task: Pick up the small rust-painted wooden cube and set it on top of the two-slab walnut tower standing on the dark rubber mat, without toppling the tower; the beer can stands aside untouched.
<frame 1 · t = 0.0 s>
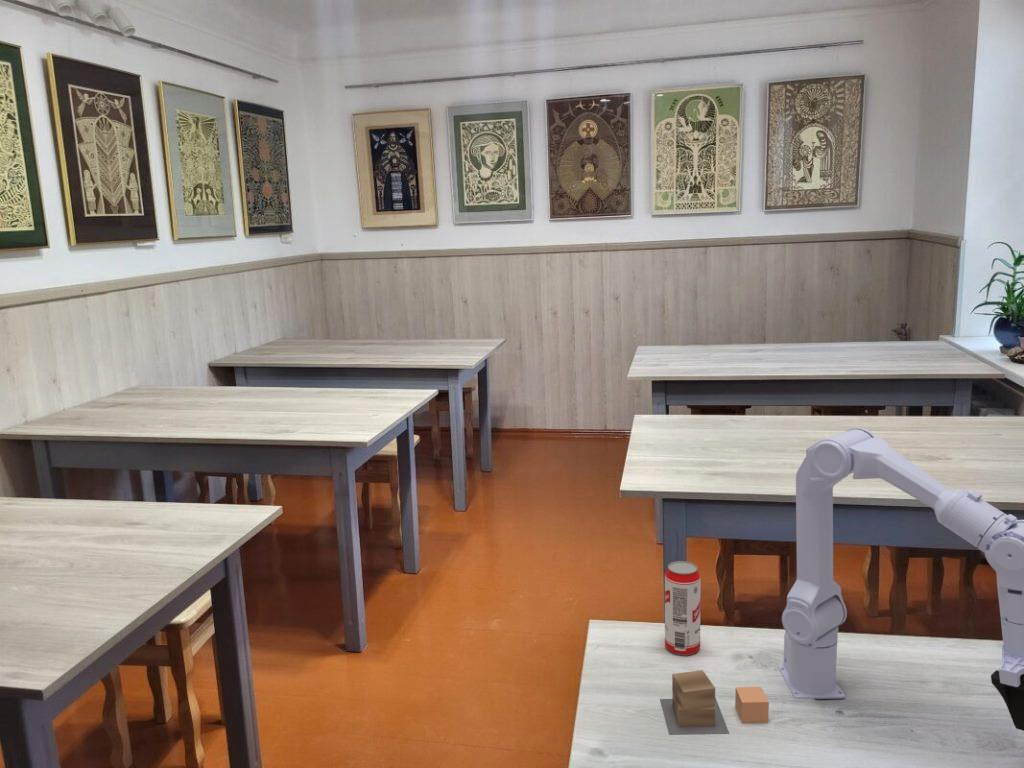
beer can: (682, 650, 141), on the table
slab top: (693, 698, 121), point 3 cm above the table, touching slab bottom
slab bottom: (693, 715, 121), resting on mat, touching slab top
mat: (693, 717, 121), on the table
cube: (751, 717, 121), on the table
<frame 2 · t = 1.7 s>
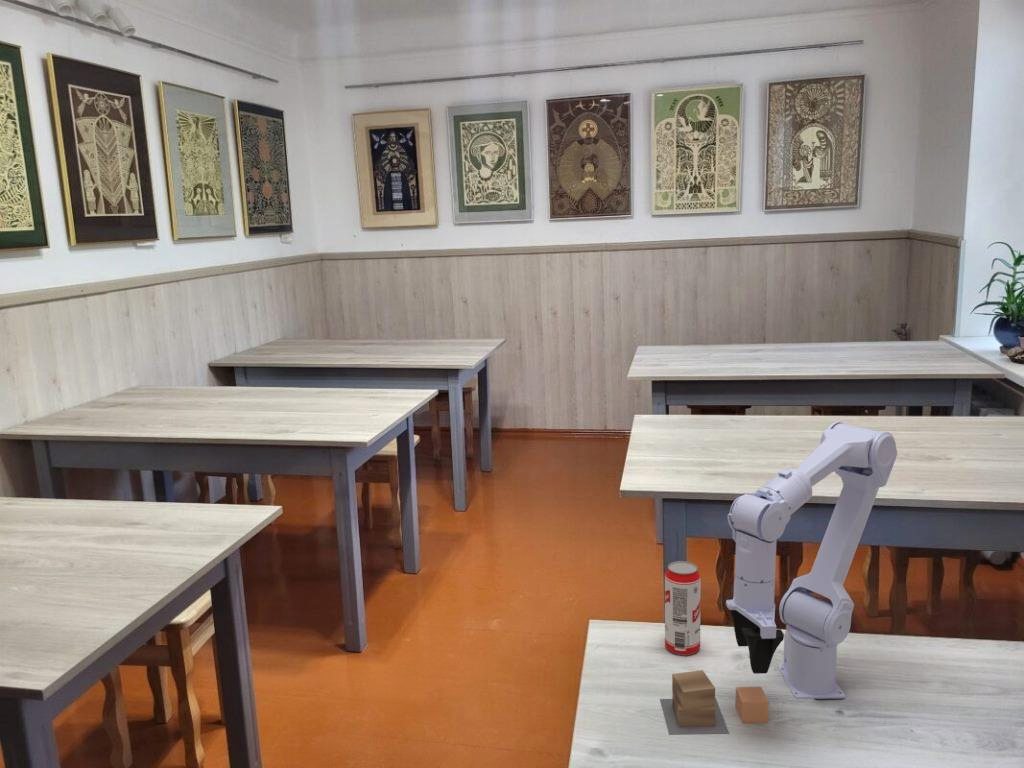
hand: (751, 658, 118), 10 cm above the table, tool pointing down, fingers open, 7 cm apart
nothing on the table moved.
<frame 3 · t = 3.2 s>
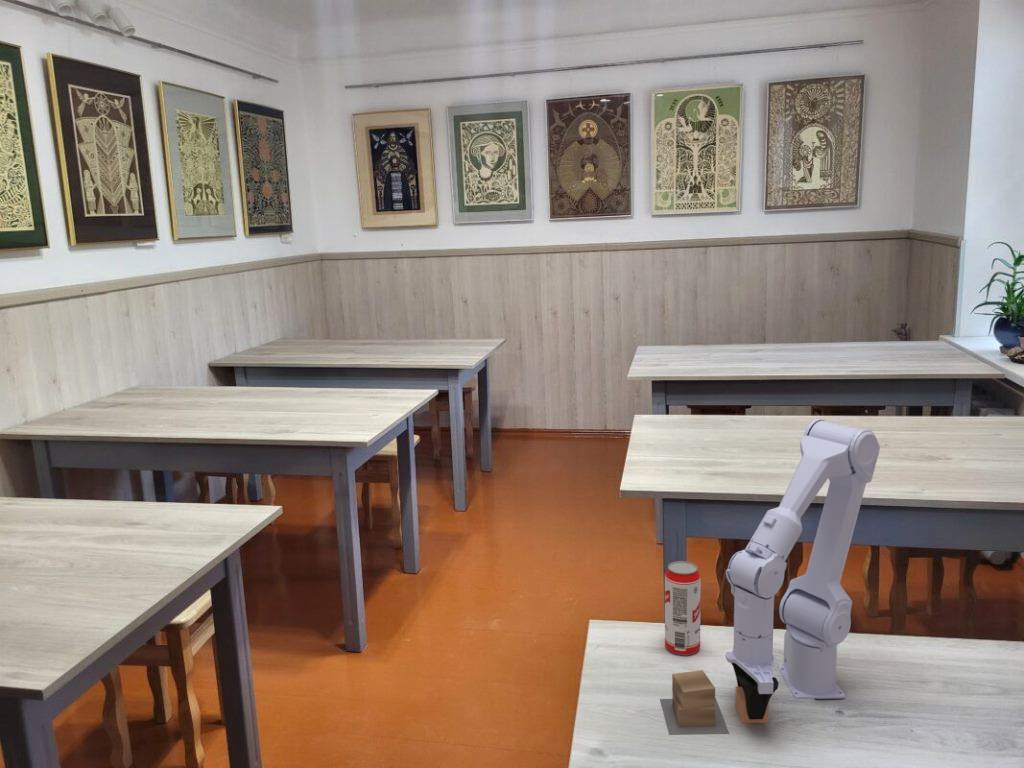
hand: (751, 708, 121), 1 cm above the table, tool pointing down, fingers closed on cube, 4 cm apart
cube: (751, 716, 121), on the table, touching gripper
everything else where it was.
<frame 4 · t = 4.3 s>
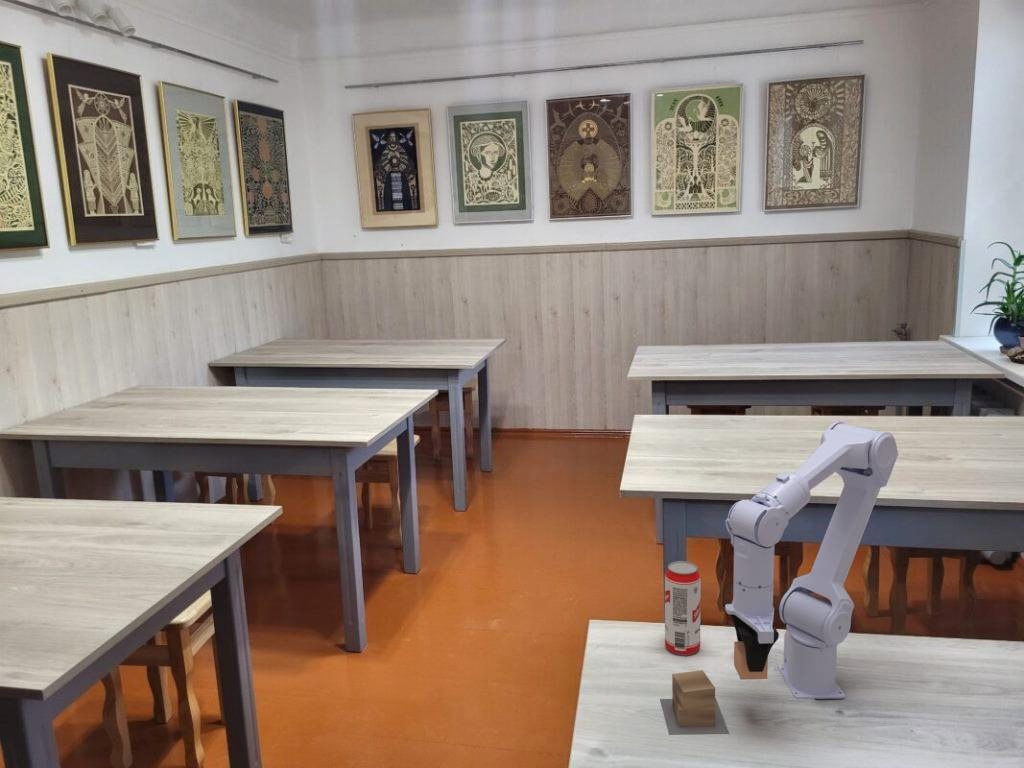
hand: (751, 662, 119), 9 cm above the table, tool pointing down, fingers closed on cube, 4 cm apart
cube: (750, 671, 120), point 8 cm above the table, touching gripper
everything else where it was.
when the fingers open (9 cm above the table, at t = 5.6 s): cube stays where it is, resting on slab top.
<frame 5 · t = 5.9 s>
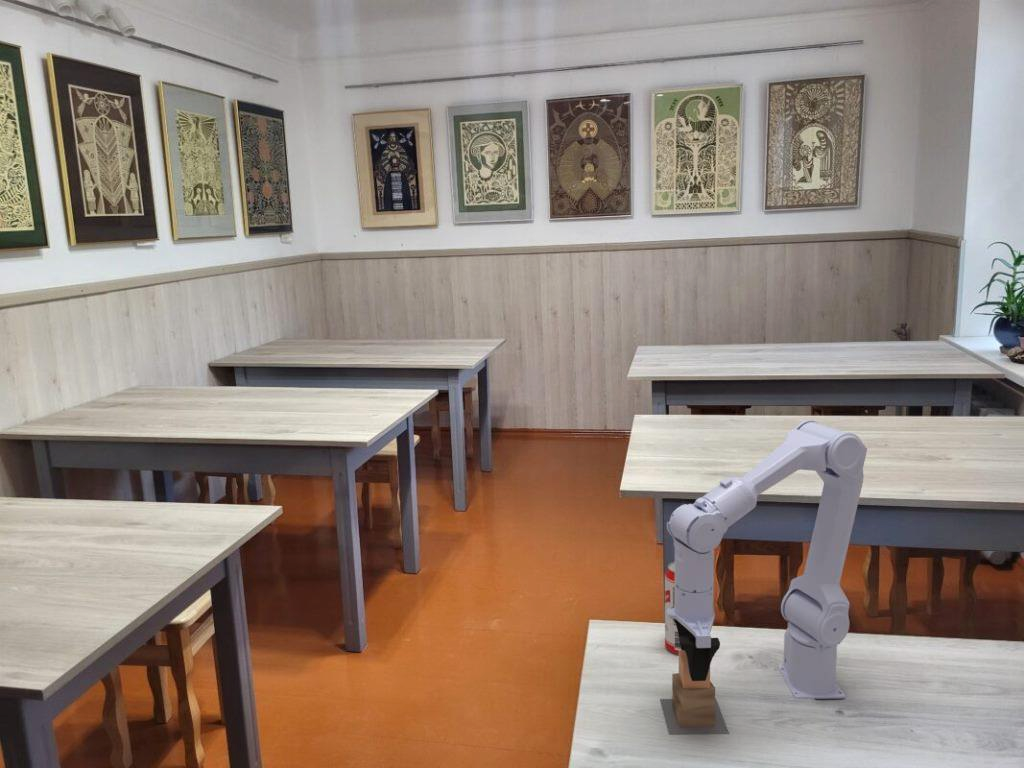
hand: (693, 666, 120), 9 cm above the table, tool pointing down, fingers open, 7 cm apart
slab top: (693, 698, 121), point 3 cm above the table, touching cube, slab bottom
cube: (694, 680, 120), point 6 cm above the table, touching slab top
everything else where it was.
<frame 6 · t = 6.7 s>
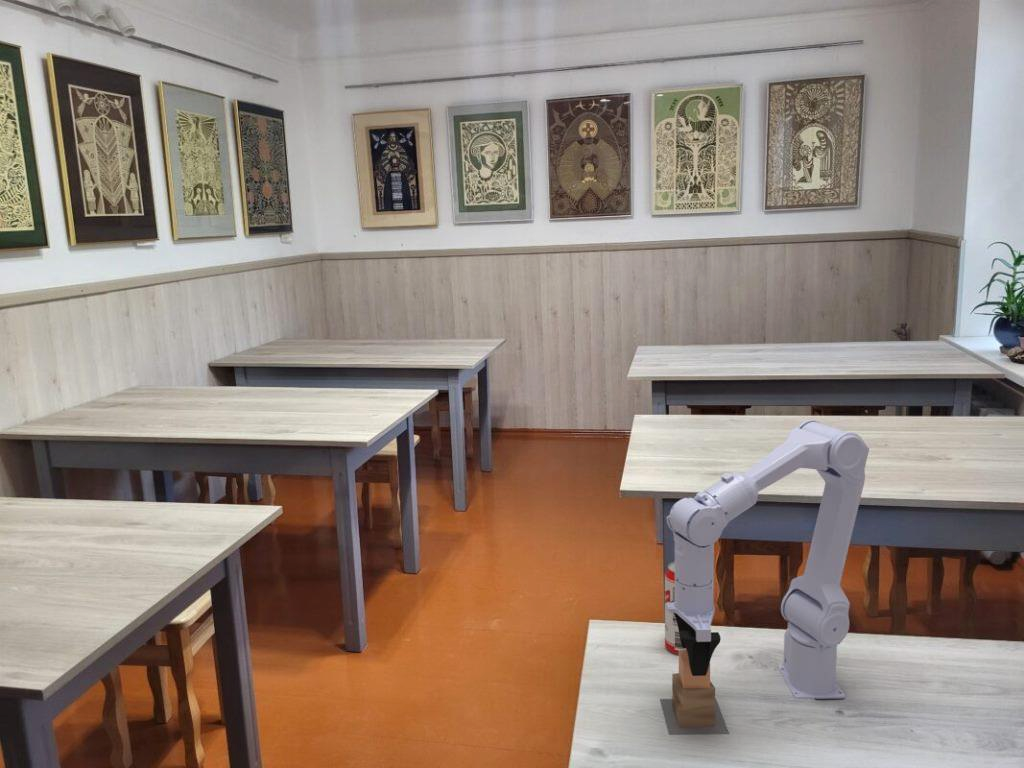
hand: (693, 660, 119), 10 cm above the table, tool pointing down, fingers open, 7 cm apart
nothing on the table moved.
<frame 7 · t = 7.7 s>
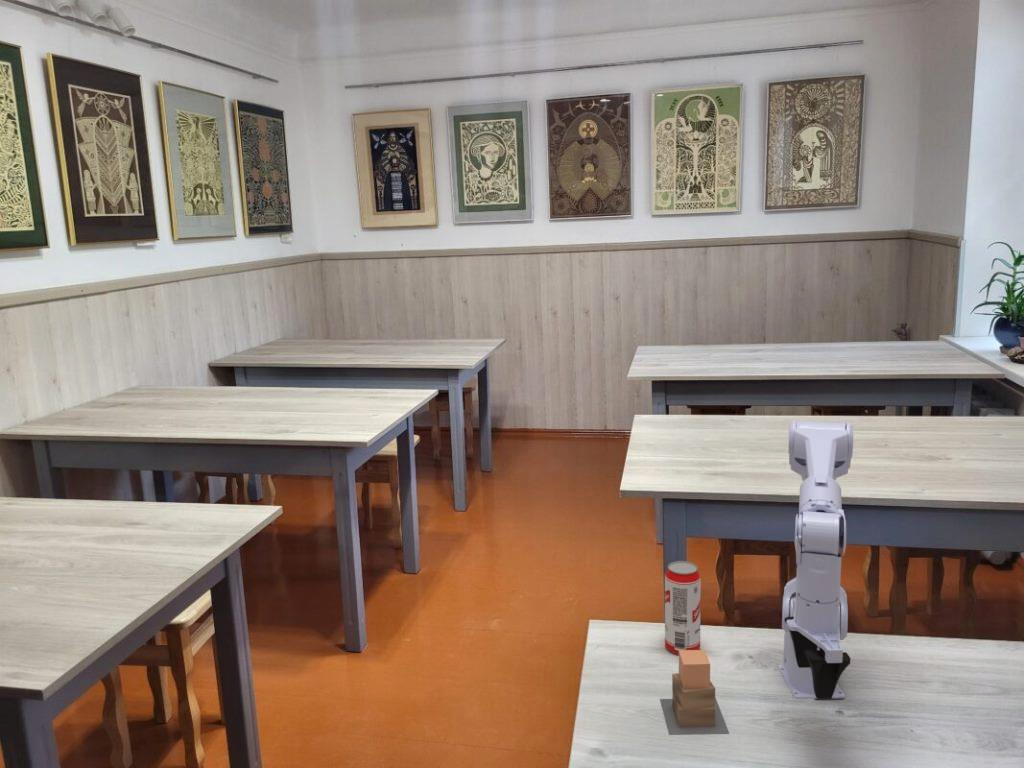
hand: (814, 681, 112), 10 cm above the table, tool pointing down, fingers open, 7 cm apart
nothing on the table moved.
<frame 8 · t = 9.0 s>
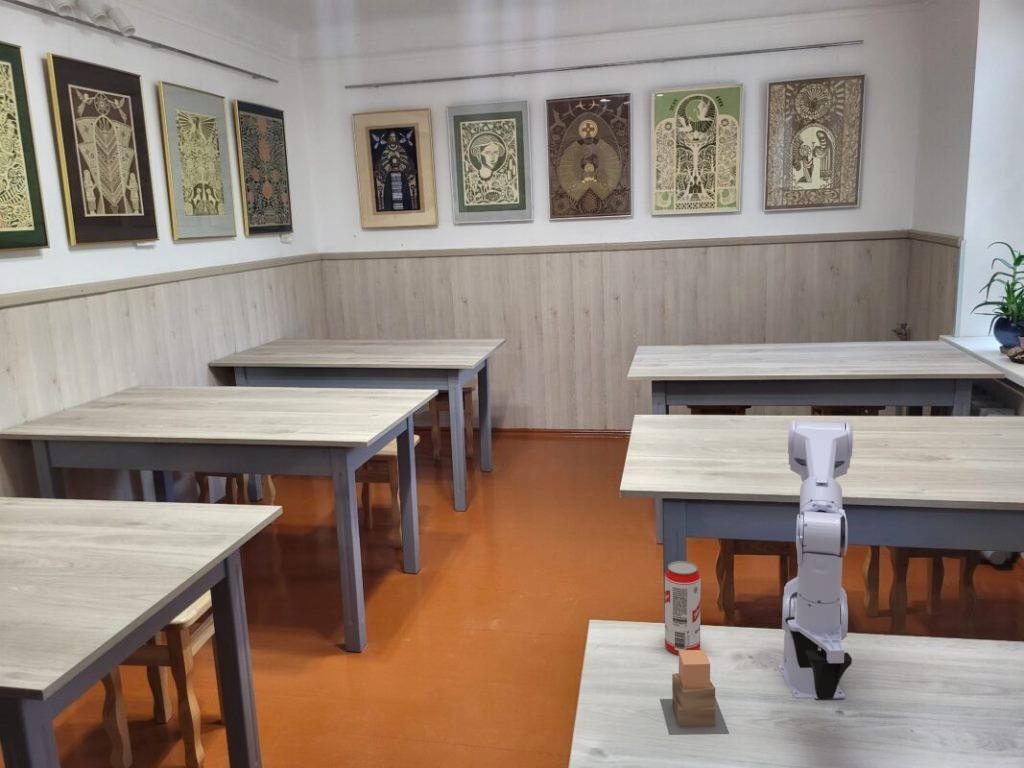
hand: (815, 681, 112), 10 cm above the table, tool pointing down, fingers open, 7 cm apart
nothing on the table moved.
at the end: cube 0.1 cm off-centre on the slab top, point 3.0 cm above the slab top's base; slab top tilted 0°; slab bottom moved 0.0 cm from its start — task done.
